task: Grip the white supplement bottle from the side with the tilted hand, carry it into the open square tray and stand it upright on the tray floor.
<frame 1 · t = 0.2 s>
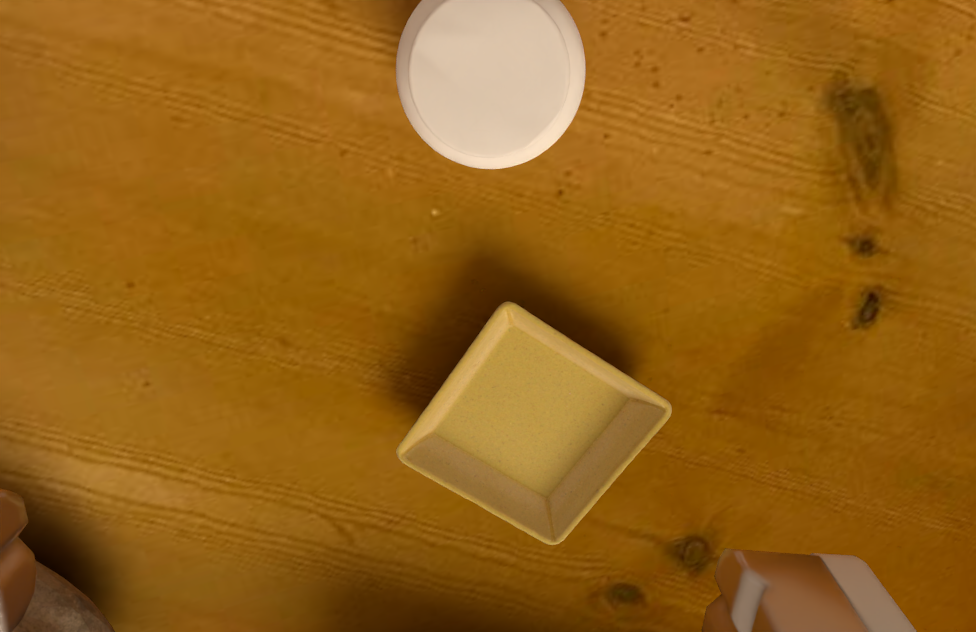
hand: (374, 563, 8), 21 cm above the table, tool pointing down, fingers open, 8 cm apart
saucer: (530, 407, 31), on the table
supplement bottle: (491, 70, 26), on the table
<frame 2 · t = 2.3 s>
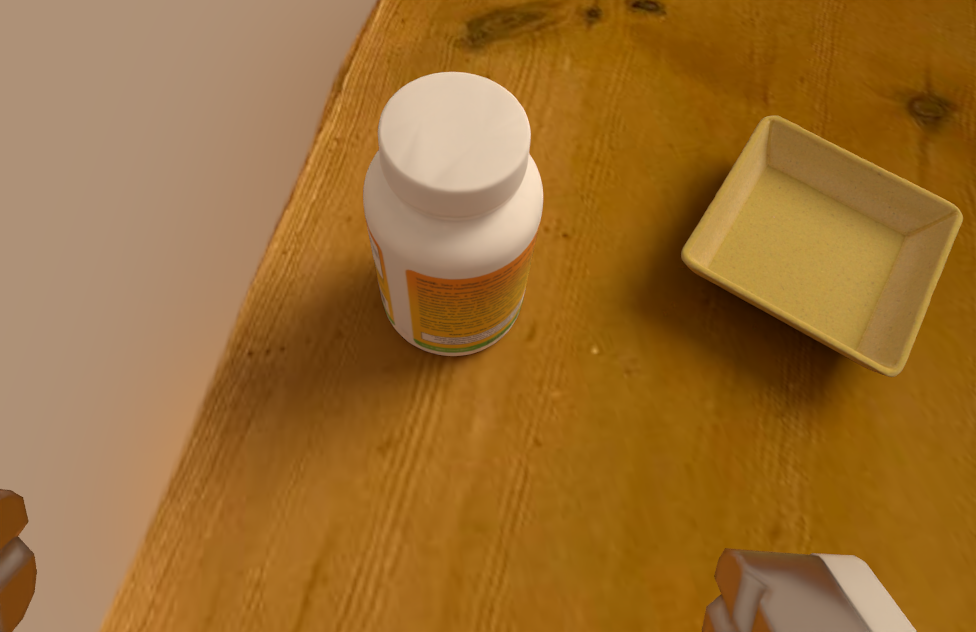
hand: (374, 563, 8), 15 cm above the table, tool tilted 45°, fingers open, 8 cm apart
saucer: (799, 261, 28), on the table
supplement bottle: (452, 296, 27), on the table
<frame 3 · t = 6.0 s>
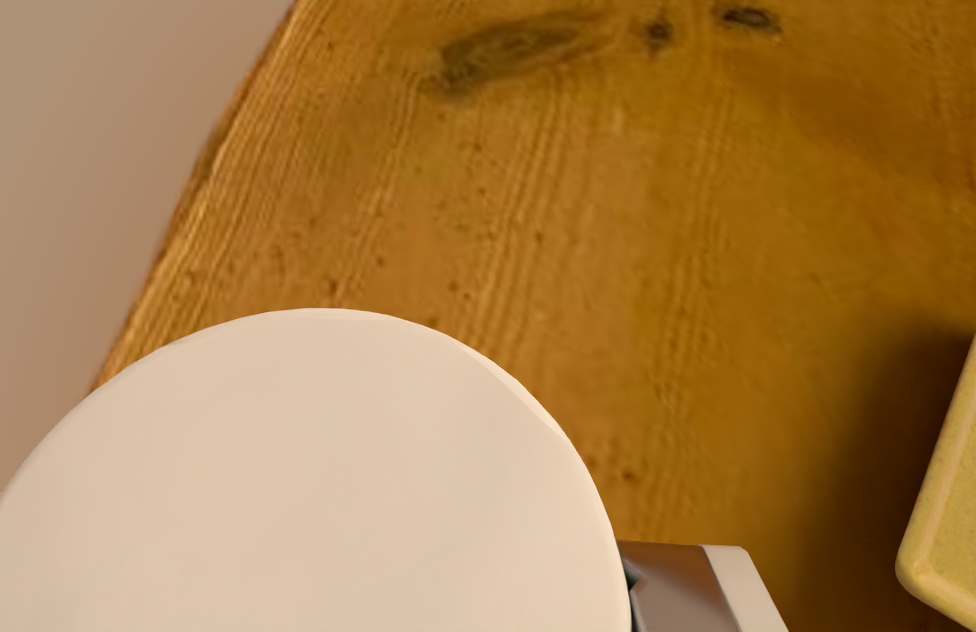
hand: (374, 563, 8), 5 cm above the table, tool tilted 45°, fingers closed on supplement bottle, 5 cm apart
supplement bottle: (401, 626, 13), on the table, touching gripper
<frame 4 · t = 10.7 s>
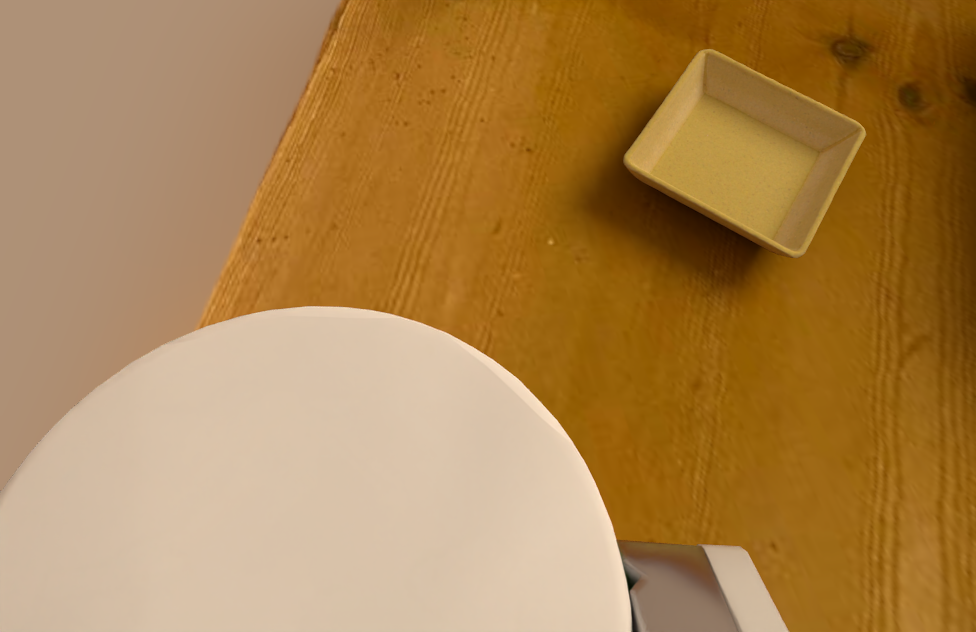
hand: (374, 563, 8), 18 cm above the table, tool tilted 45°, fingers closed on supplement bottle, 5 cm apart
saucer: (729, 173, 33), on the table
supplement bottle: (402, 625, 13), point 12 cm above the table, touching gripper
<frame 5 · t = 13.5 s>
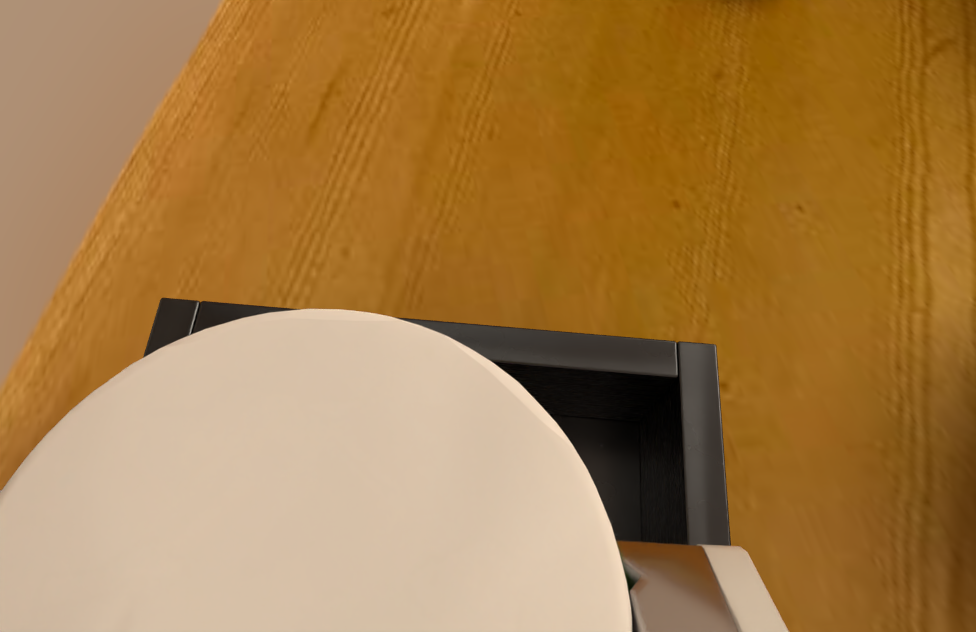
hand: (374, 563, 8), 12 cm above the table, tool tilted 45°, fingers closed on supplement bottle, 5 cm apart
supplement bottle: (401, 627, 13), point 7 cm above the table, touching gripper
open square tray: (417, 626, 19), on the table
when the fingers open (6 cm above the table, at t = 15.6 s): supplement bottle stays where it is, resting on open square tray.
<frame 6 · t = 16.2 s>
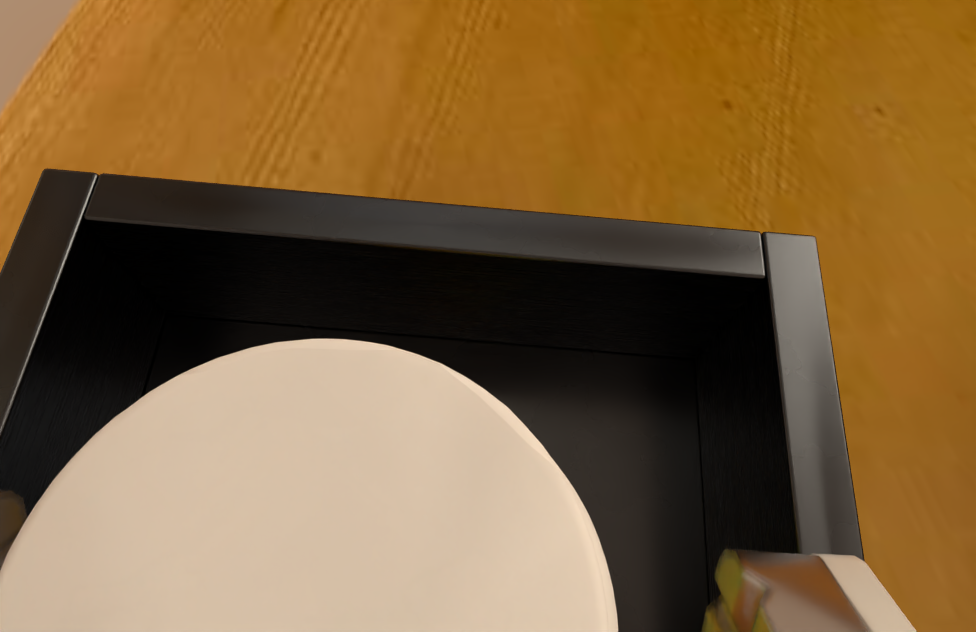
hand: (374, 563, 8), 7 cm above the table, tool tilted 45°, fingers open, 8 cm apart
supplement bottle: (400, 629, 13), point 1 cm above the table, touching open square tray
open square tray: (402, 627, 14), on the table
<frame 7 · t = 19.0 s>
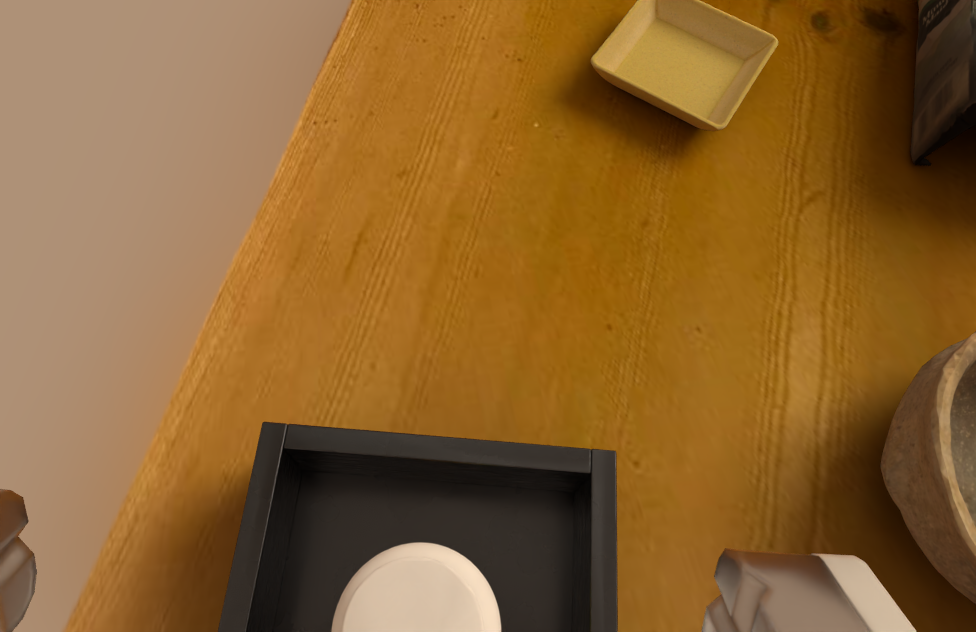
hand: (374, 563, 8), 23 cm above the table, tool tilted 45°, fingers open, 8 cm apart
saucer: (675, 77, 43), on the table
supplement bottle: (424, 631, 28), point 1 cm above the table, touching open square tray
open square tray: (424, 631, 29), on the table
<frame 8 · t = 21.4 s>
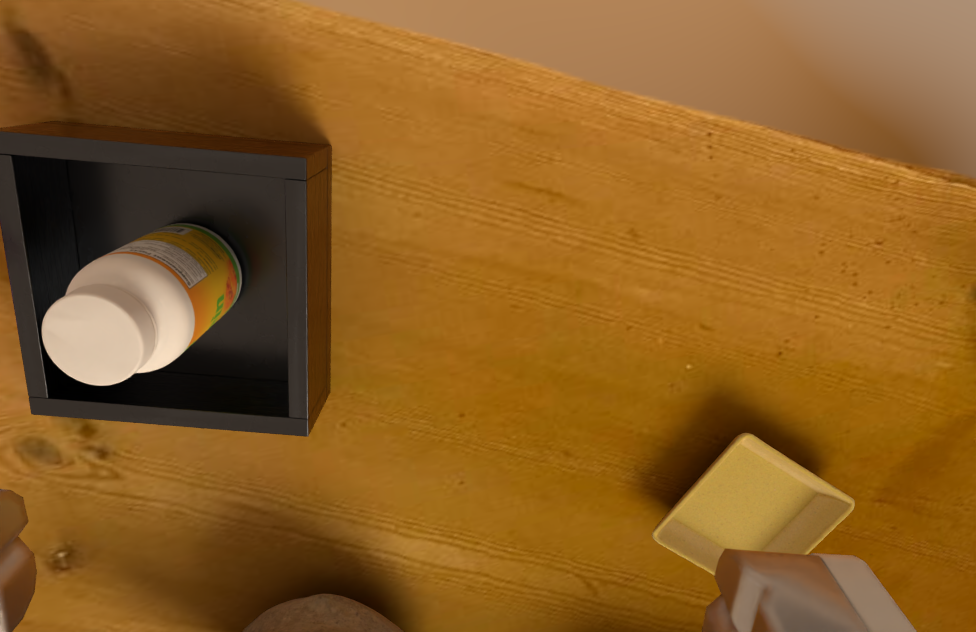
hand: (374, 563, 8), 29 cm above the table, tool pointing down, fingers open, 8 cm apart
saucer: (740, 497, 42), on the table
supplement bottle: (194, 270, 37), point 1 cm above the table, touching open square tray
open square tray: (201, 266, 37), on the table
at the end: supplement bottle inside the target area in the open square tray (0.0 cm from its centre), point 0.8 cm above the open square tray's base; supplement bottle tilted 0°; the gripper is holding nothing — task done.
